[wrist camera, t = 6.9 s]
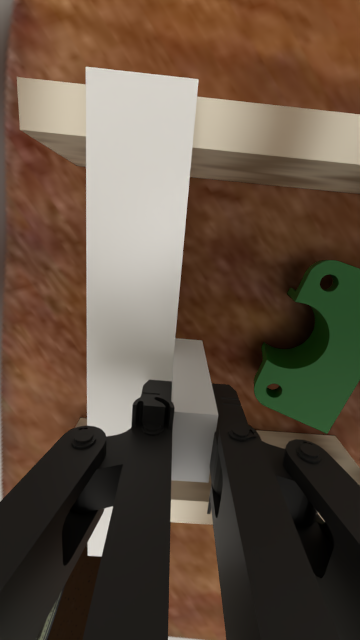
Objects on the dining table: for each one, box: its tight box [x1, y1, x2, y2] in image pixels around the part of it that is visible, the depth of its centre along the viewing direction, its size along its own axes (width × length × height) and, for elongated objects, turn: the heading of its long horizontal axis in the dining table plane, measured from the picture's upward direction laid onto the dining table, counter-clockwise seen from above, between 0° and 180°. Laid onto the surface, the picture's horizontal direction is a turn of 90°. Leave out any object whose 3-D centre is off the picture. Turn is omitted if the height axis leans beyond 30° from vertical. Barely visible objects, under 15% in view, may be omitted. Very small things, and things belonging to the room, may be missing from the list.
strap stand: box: [17, 77, 360, 525], centre depth 21 cm, size 24×25×8 cm
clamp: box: [254, 260, 360, 433], centre depth 22 cm, size 12×6×9 cm, turn 154°
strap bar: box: [86, 67, 199, 557], centre depth 15 cm, size 4×24×2 cm, turn 175°
